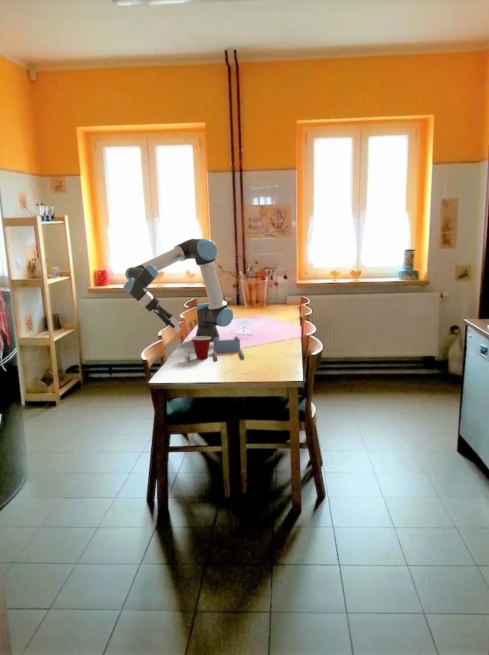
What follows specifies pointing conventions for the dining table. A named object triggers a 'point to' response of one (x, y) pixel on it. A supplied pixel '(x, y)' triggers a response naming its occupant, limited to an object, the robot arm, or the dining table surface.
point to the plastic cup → (201, 346)
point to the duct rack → (225, 347)
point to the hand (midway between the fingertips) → (179, 328)
